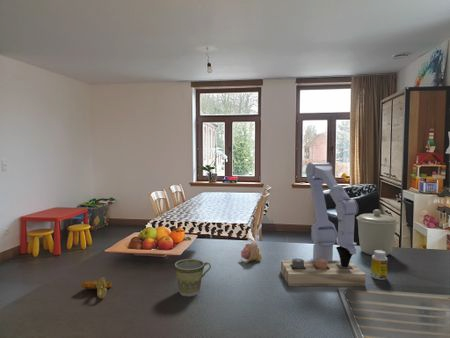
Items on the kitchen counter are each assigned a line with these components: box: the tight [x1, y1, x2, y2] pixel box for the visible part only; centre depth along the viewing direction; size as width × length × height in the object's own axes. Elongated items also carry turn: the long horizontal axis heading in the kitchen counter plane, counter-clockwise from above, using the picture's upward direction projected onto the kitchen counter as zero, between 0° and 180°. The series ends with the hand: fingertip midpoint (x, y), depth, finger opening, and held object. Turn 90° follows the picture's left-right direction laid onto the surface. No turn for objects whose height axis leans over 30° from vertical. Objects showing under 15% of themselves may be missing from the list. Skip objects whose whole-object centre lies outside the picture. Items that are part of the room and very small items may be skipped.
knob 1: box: [291, 258, 305, 269], centre depth 125 cm, size 4×4×4 cm
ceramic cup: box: [174, 258, 212, 297], centre depth 113 cm, size 13×10×10 cm
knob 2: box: [338, 264, 351, 269], centre depth 126 cm, size 4×4×4 cm
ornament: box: [80, 276, 113, 299], centre depth 112 cm, size 7×10×15 cm
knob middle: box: [315, 259, 328, 269], centre depth 125 cm, size 4×4×4 cm
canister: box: [355, 209, 399, 257], centre depth 156 cm, size 18×18×21 cm
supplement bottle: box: [370, 250, 388, 281], centre depth 127 cm, size 6×6×10 cm
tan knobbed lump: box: [240, 240, 263, 264], centre depth 143 cm, size 9×10×10 cm
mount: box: [280, 259, 367, 287], centre depth 126 cm, size 14×28×4 cm, turn 92°
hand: (344, 266), depth 126 cm, fingers closed, pressing on knob 2
